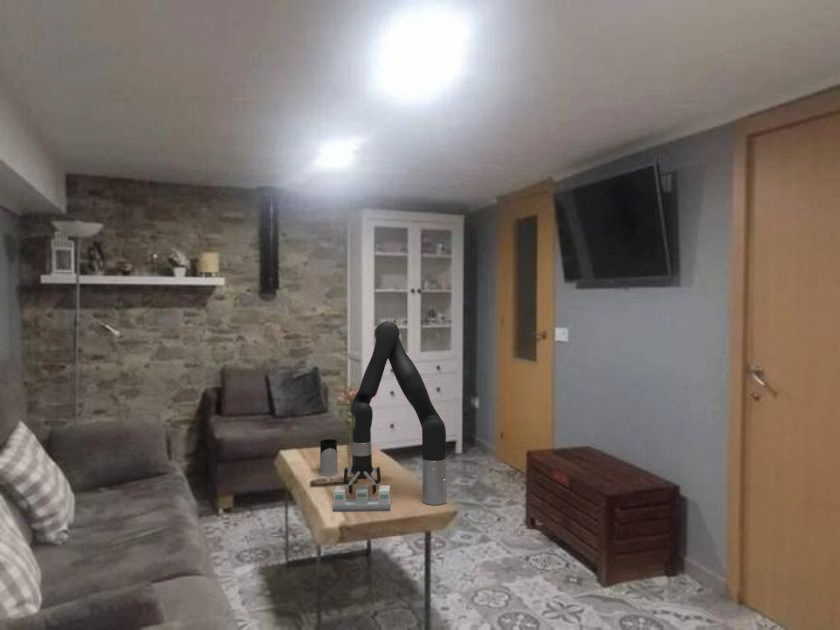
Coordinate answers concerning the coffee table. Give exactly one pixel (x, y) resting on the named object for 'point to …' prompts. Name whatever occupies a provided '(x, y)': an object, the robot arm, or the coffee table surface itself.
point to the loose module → (362, 494)
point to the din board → (350, 504)
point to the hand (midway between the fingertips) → (362, 494)
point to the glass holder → (328, 457)
